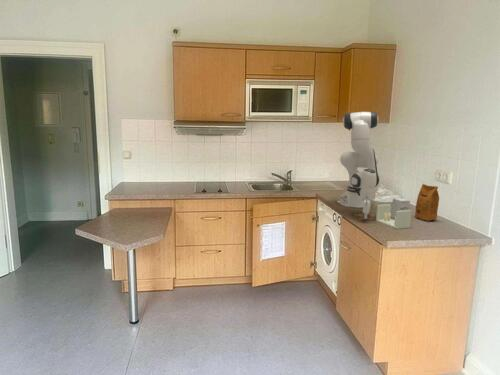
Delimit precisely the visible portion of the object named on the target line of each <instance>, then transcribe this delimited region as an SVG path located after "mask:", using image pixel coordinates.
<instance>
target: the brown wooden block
mask: <svg viewBox="0 0 500 375" xmlns="http://www.w3.org/2000/svg"><path fill="white" fill-rule="evenodd" d="M353 218H354V219H355V220H356V221H375V219H376V213H368V215H367V219H364V213H354V214H353Z"/></svg>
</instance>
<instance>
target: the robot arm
mask: <svg viewBox="0 0 500 375" xmlns="http://www.w3.org/2000/svg"><path fill="white" fill-rule="evenodd" d="M378 123H379V116H378V113H377V112H375V111H358V112H348V113H345V114H344V116H343V118H342V125H343V127H344V128H345V129H346V130H348V131H349V132H350V131H351V132H350V135H351V136H350V144H351V149H352V150H353V151H346V152H343V153H342V154H341V155H340V158H339V161H340V164H341V165H342V166H343V167H344V168H345V169H346V171H347V173H348V186H346V188H347V190H346V191H344V192H343V193H341V196H340V199H339V200H337V201H336V202H337V203H338V204H339V205H342V206H343V207H349V208H359V209H361V208H362V214H364V219H367V215H368V214H370V210H371V209H370V208H371V205H372V203H373V201H374V200H375V199H376V188H377V187H378V186H379V184H380V176H379V173H378V166H377V165H378V162H379V157H378V155H377V154H376V153H375V149H374V148H373V147H372V145H371V141H370V138H371V136H370V134H371V133H370V129H374V128H376V127H377V126H378ZM358 168H360V169H362V171H359V170H358Z"/></svg>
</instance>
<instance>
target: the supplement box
mask: <svg viewBox="0 0 500 375" xmlns="http://www.w3.org/2000/svg"><path fill="white" fill-rule="evenodd" d="M410 203H411V200H410V199H406V198H392V204H391V219H393V220H395V217H396V211H407V210H410V205H411V204H410Z"/></svg>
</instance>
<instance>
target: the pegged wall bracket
mask: <svg viewBox="0 0 500 375" xmlns="http://www.w3.org/2000/svg"><path fill="white" fill-rule="evenodd" d="M375 211H376V212H375V214H376V219H375V220H376V222H378V223H380V224H383V225H385V226H388V227H391V228H393V229H396V230H398V229H399V230H401V229H409V228H411V220H412V210H410V209H409V210H407V211H396V217H395V219H393V218H391V213H392V204H390V203H389V204H377V205H376V210H375ZM375 220H374V221H375Z"/></svg>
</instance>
